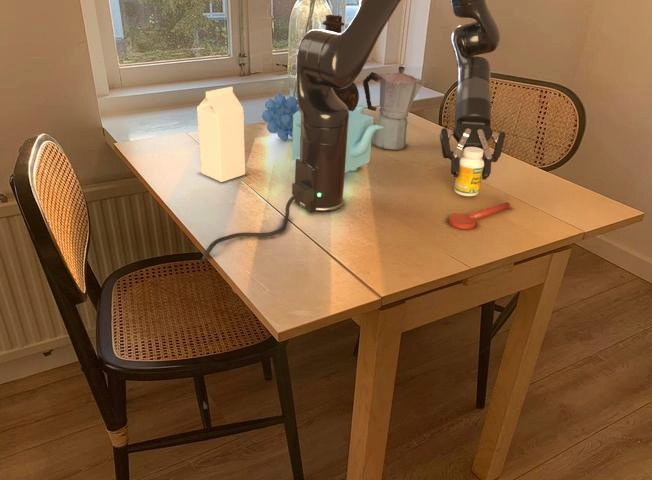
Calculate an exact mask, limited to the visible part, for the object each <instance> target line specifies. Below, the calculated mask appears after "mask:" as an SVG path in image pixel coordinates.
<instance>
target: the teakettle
mask: <svg viewBox="0 0 652 480" xmlns="http://www.w3.org/2000/svg"><path fill="white" fill-rule="evenodd" d="M366 107H367V103H360V104H357V106H356V108H355V110H354V111H349V121H348V135H347V149H346V163H345V174H346V173H348V172H350V171H352V172H353V171H357V170H359V169H358V168H360V167H361V166H364V165H367V164H369V163H370V159H371V151H372V150H371V149H372V138H373V135H374V132H375V131H377V130H379V129H382V128H383V127H382V126H379V125H377V124H374V116H371V115H367V114H365V113H362V112H363V111H364V109H365V108H366ZM300 132H301V112H300V111H297V112H296V113H295V114H293V138H292V146H291V147H292V148H291V149H292V150H291V151H292V153H291V155H292V156H291V158H292V160H293V161H296V159H297V158H300Z"/></svg>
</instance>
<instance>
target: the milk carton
mask: <svg viewBox="0 0 652 480" xmlns="http://www.w3.org/2000/svg"><path fill="white" fill-rule="evenodd" d="M244 111H245V109H244V107H243V106H242V104H241V102H240V101H239V99H238V98H237V96H236V94H235V93H234V89H233V86H227V87H222V88H217V89H213V90H207V91H205V97H204V99H203V100H202V101H201V102H200V103H199V104H198V105H197V107H196V115H197V117H196V118H197V128H198V142H199V143H198V144H199V158H200V171H201V174H202V175H203V176H207V177H209V178H211V179H213V180H216V181H218V182H220V183H223V182H226V181H227V182H228V181H230V180H232V179H236V178H238V177H241V176H244V175H246V153H245V152H246V151H245V149H246V148H245V115H244V114H245V113H244Z"/></svg>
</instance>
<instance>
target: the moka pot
mask: <svg viewBox="0 0 652 480" xmlns="http://www.w3.org/2000/svg"><path fill="white" fill-rule="evenodd" d="M405 69H406V68H405V67H404V66H398V72H387V73H376V72H373V71H372V72H370V73H369V74H368V75H367V76H366V77H365V78H364V79H363V82H362V85H363V90H364V95H365V99H366V101H365V102H366V104H367V105H366V107H367V109H368V110H369V111H373V112H377V110H378V107H377V106H373V105H372V100H371V92H370V85H369V82H370V81H374V82H375V83H379V106H380V108H379V115H378V118H377V121H376V125H379V126H382V127H383V128H382V129H379V130H377V131H375V132H374V134H373V136H372V139H371V144H372V145H374V146H377V147H378V148H381V149H383V150H392V151H394V150H395V151H397V150H402V149H404V148H405V147H406V144H407V127H408V126H407V125H408V123H409V122H408V117H409V111H410V110H411V109H412V106H413V103H414V101H415V98H416V96H417V95H418V94H419V93H420V91H421V89H422V87H423V86H424V85H426V83H425V82H424V80H423V79H421V78H418V77H415V76H413V75H411V74H406V73H404V72H405Z"/></svg>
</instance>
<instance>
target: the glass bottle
mask: <svg viewBox="0 0 652 480" xmlns="http://www.w3.org/2000/svg"><path fill="white" fill-rule="evenodd" d="M342 18H343V16H342V15H339V14H338V15H334V14H327V15H325V20H323V21H322V25H324V26H325V29H324V30H326V31H331V32H336V33H342V27H344V26H345V23H344V22H342V21H343V20H342ZM333 90H334V92H335V94H336V95H337V97H338V98H339V99H340V100H341V101H342V102H343V103H344V104H345V105H346V106H347V107H348V109H349V111H354V110H355V108H356V107H357V106H358V105H359V101H360V93H359V92H360V91H359V89H358V86H357V84H356V83H355V81H354V82H353V83H352V84H351V85H350V86H348V87H346V88H344V89H336V88H333Z"/></svg>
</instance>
